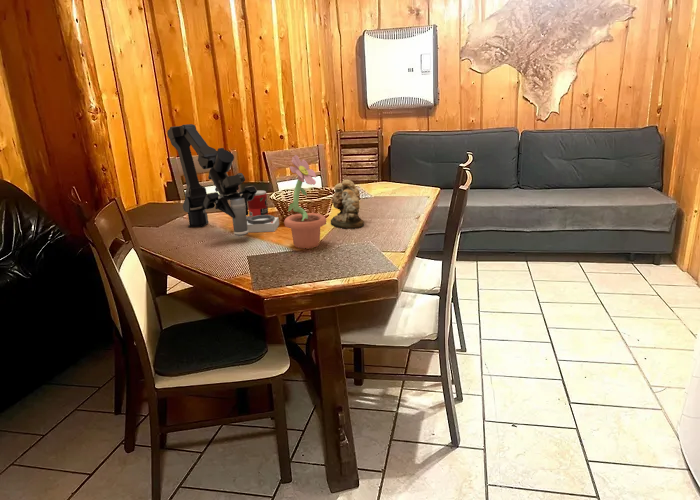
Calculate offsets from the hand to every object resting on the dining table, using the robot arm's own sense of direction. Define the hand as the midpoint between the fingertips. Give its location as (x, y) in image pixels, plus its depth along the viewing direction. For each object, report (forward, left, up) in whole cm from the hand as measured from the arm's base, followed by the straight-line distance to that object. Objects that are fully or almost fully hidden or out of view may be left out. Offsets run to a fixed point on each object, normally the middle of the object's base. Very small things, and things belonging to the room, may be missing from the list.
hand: (241, 216), depth 172 cm
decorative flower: (+23, -8, -9) cm, 26 cm away
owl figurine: (+35, +20, -9) cm, 41 cm away
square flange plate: (+2, +17, -9) cm, 19 cm away
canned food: (-2, +34, -9) cm, 35 cm away
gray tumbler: (-1, +1, -7) cm, 7 cm away
